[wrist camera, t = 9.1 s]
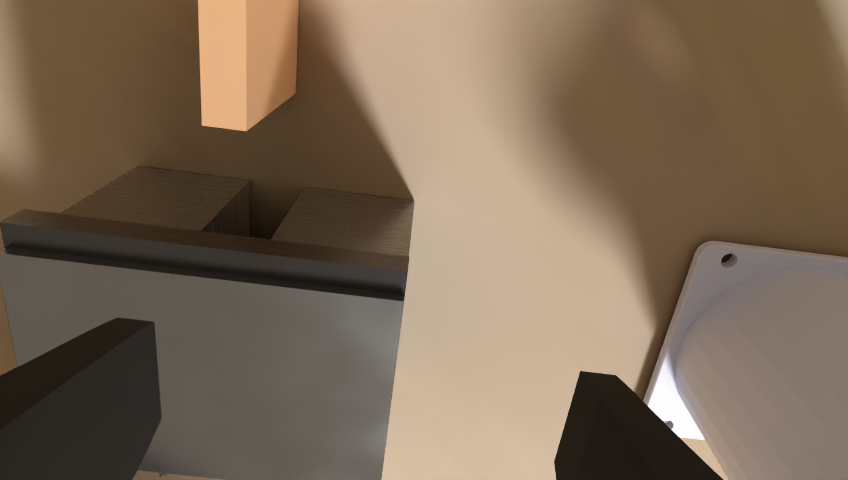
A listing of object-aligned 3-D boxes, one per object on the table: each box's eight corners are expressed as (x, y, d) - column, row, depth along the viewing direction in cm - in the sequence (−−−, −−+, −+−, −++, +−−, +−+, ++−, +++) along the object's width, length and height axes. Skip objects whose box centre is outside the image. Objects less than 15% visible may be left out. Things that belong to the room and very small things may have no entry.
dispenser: (416, 183, 19) (406, 277, 13) (395, 351, 21) (379, 496, 15) (136, 148, 18) (-11, 227, 12) (150, 323, 21) (35, 459, 15)
